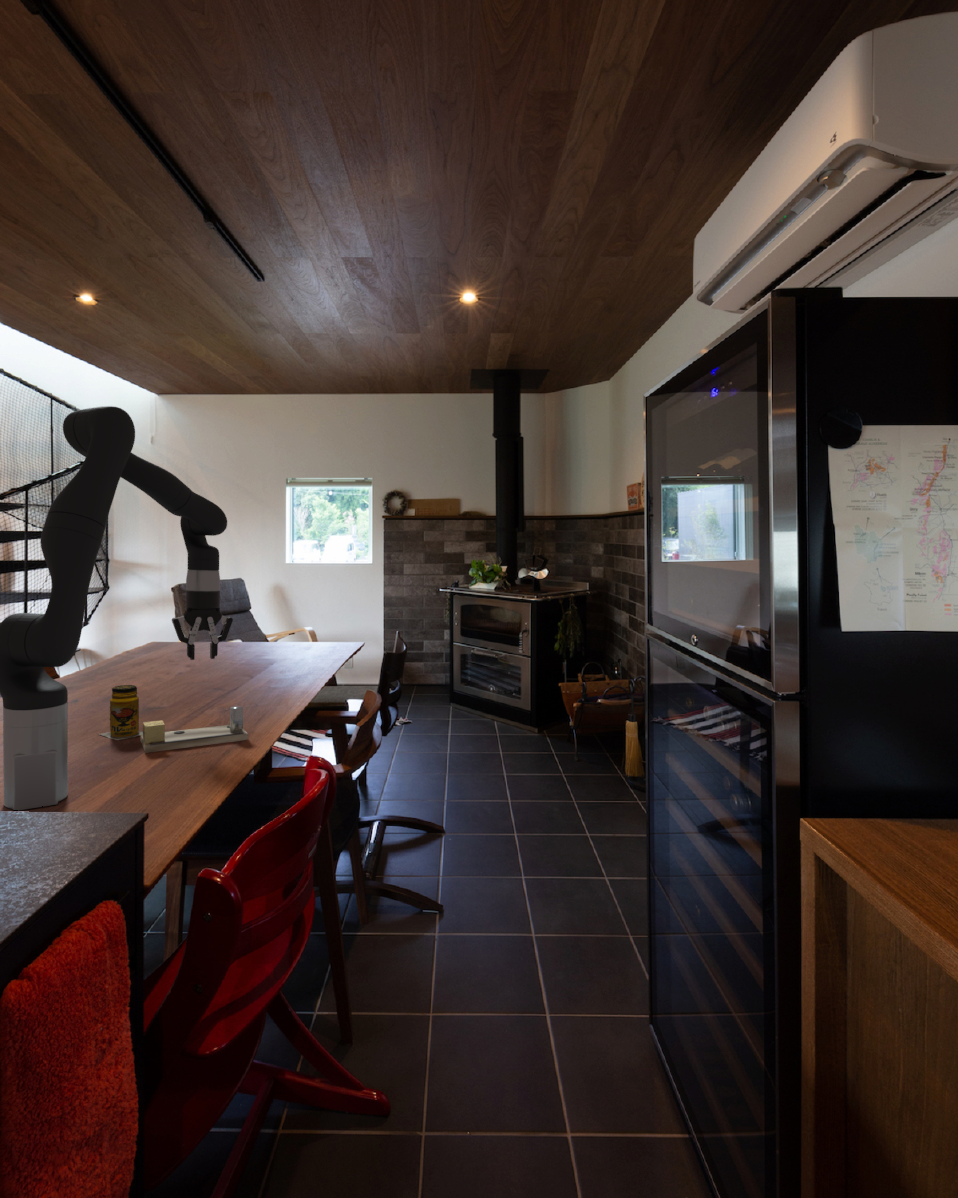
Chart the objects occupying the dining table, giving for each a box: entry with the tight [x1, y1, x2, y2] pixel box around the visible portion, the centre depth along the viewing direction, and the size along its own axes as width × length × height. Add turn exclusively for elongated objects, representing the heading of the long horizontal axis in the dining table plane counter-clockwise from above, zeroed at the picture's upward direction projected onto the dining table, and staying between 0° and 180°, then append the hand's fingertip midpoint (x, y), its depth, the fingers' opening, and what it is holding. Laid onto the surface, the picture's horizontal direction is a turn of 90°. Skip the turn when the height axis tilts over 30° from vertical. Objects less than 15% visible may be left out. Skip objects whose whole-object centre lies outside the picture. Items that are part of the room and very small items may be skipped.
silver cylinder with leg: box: [229, 705, 244, 733], centre depth 150 cm, size 6×3×6 cm, turn 34°
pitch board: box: [140, 724, 249, 754], centre depth 145 cm, size 10×22×2 cm, turn 124°
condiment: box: [98, 684, 143, 741], centre depth 148 cm, size 7×8×12 cm
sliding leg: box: [142, 720, 166, 744], centre depth 140 cm, size 7×4×4 cm, turn 35°
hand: (202, 658), depth 148 cm, fingers open, 4 cm apart
